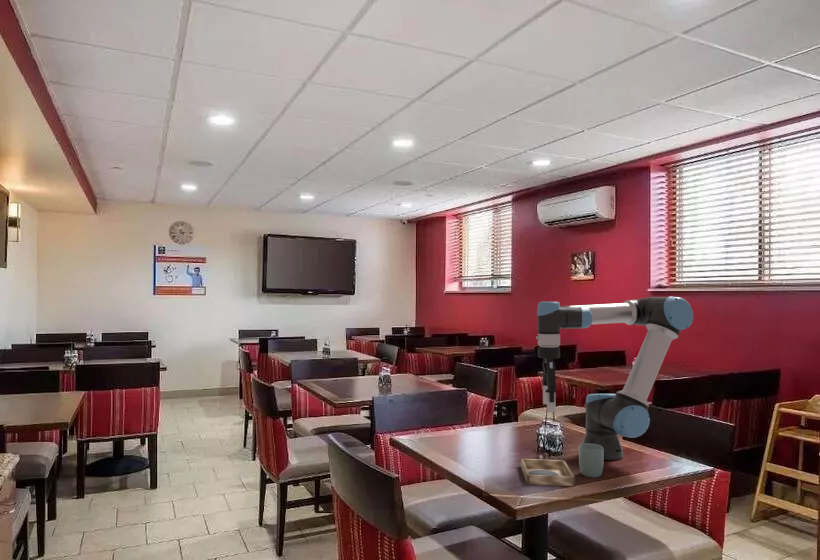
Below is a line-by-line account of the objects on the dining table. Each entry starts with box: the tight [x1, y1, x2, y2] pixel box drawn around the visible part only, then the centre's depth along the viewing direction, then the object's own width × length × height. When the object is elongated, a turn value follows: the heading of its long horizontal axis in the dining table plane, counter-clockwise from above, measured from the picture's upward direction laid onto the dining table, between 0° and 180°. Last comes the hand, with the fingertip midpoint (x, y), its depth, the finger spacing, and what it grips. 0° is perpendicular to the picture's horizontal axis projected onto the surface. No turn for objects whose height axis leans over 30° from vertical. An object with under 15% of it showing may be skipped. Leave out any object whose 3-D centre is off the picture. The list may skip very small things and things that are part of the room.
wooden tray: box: [520, 458, 576, 487], centre depth 189 cm, size 15×19×3 cm
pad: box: [528, 470, 559, 476], centre depth 189 cm, size 10×10×1 cm
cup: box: [578, 443, 604, 478], centre depth 191 cm, size 8×8×10 cm
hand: (549, 408), depth 198 cm, fingers open, 13 cm apart
